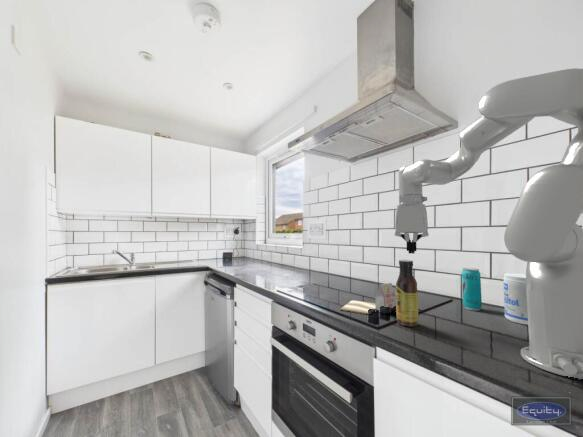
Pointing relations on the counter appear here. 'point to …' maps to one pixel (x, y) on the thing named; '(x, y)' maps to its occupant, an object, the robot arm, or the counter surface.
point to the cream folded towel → (358, 307)
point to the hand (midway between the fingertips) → (411, 253)
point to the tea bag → (385, 296)
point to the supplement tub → (515, 298)
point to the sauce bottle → (406, 295)
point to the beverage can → (471, 289)
